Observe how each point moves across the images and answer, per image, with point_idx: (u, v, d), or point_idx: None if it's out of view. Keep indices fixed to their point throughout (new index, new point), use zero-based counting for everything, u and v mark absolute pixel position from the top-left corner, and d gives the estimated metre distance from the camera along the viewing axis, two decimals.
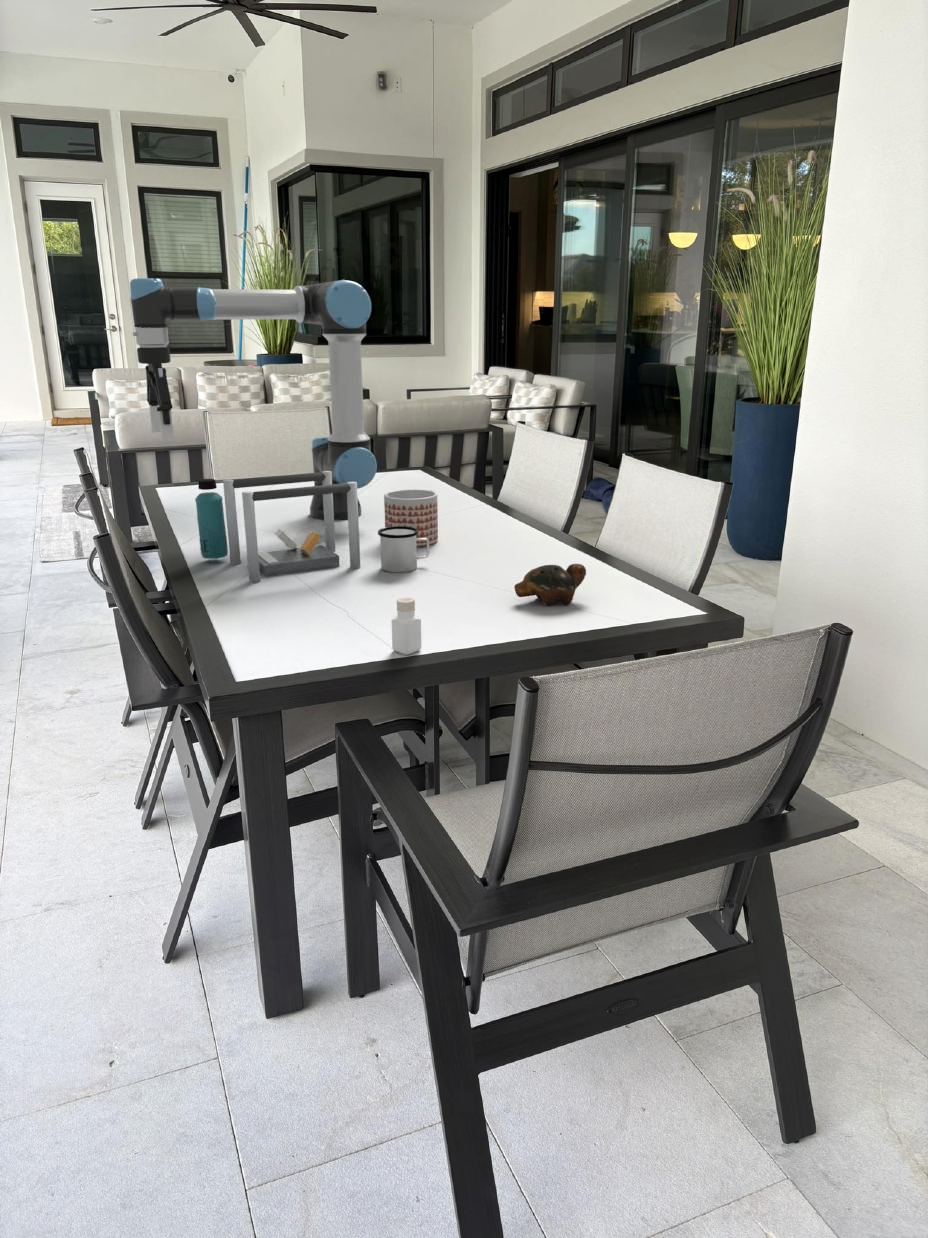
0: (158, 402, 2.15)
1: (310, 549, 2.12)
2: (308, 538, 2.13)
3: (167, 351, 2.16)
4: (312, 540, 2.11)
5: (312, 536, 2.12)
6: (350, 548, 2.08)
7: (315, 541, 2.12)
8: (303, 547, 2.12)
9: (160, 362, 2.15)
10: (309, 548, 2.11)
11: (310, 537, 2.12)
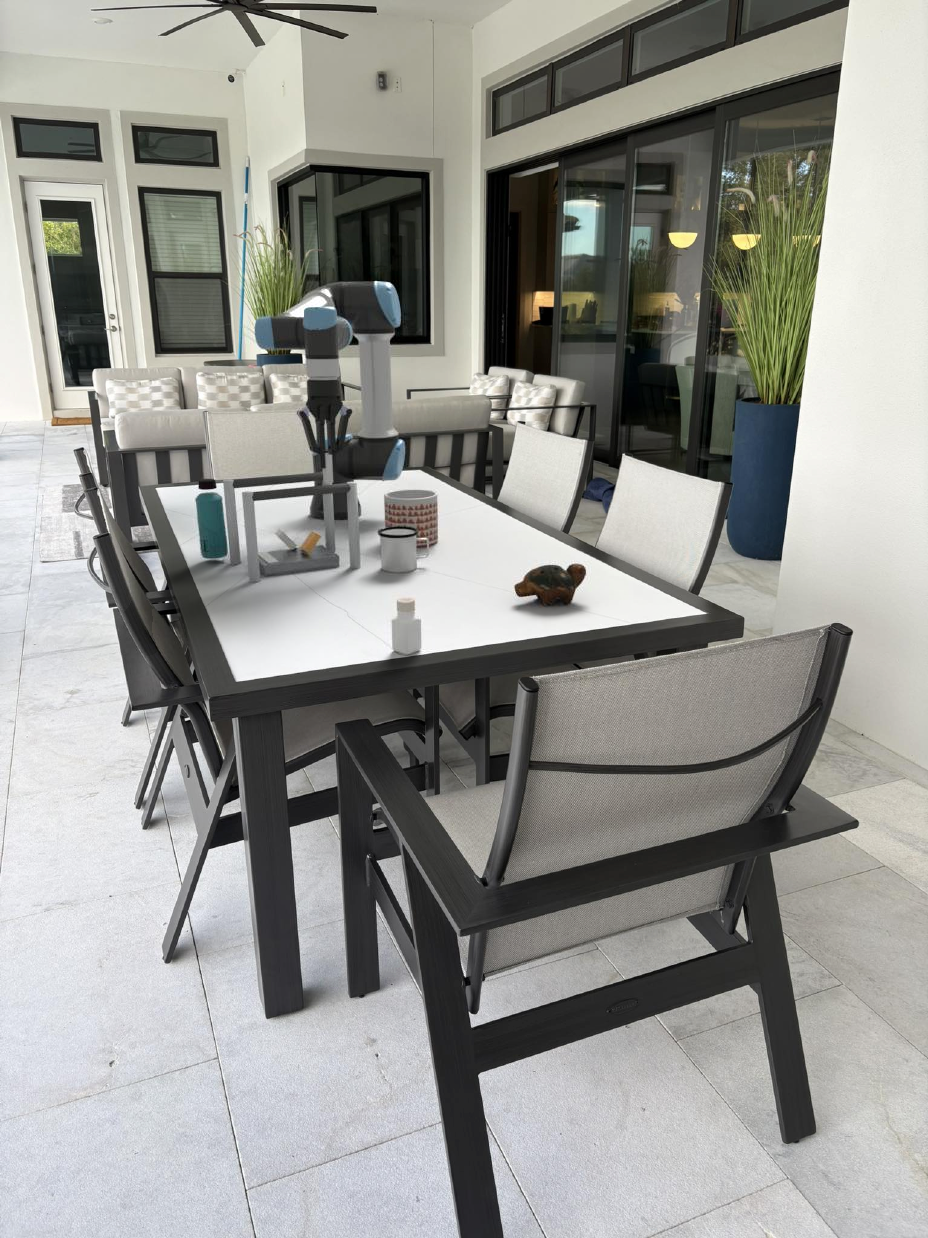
0: None
1: (310, 549, 2.12)
2: (308, 538, 2.13)
3: (317, 384, 2.00)
4: (312, 540, 2.11)
5: (312, 536, 2.12)
6: (350, 548, 2.08)
7: (315, 541, 2.12)
8: (303, 547, 2.12)
9: (309, 395, 2.02)
10: (309, 548, 2.11)
11: (310, 537, 2.12)
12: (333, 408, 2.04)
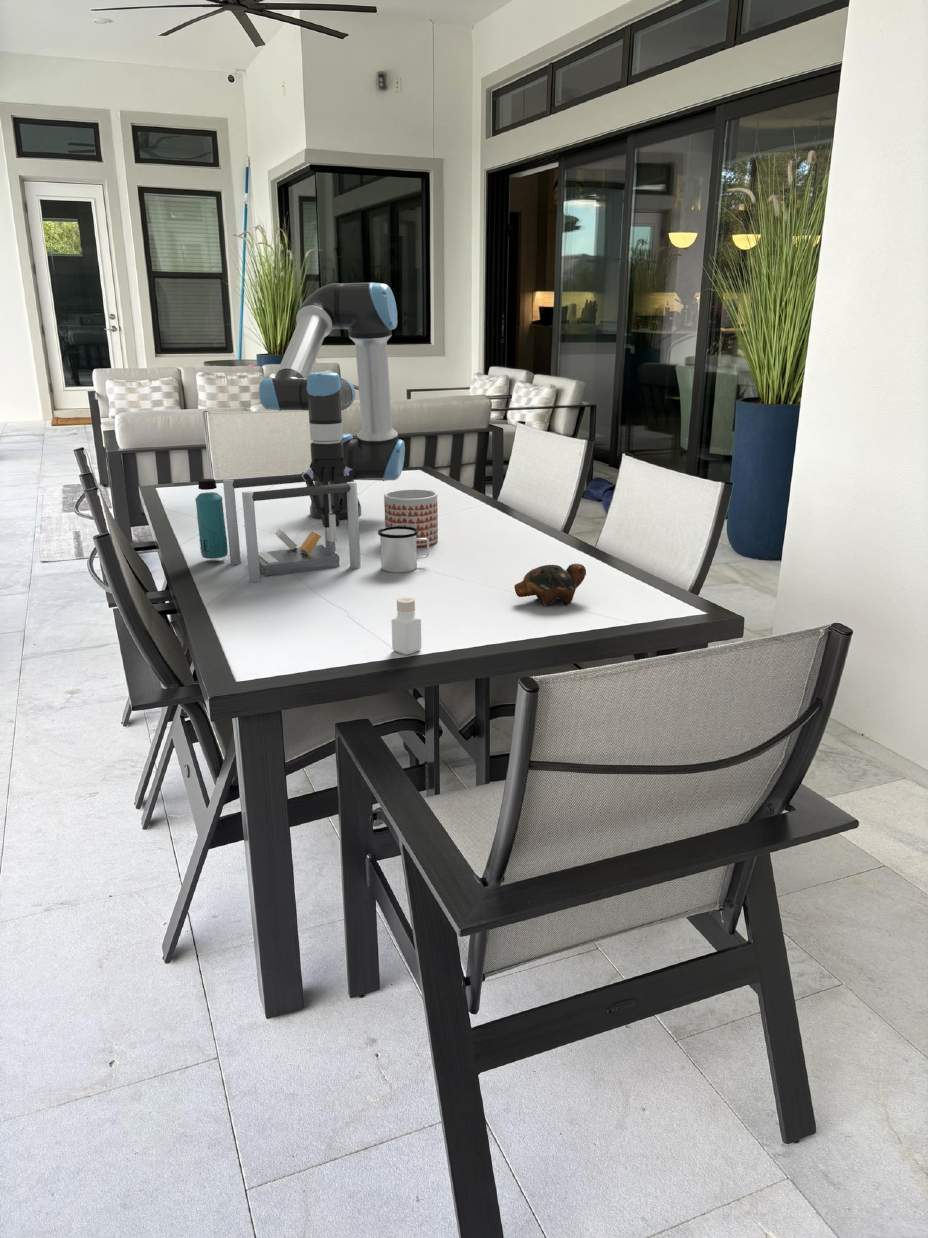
0: None
1: (310, 549, 2.12)
2: (308, 538, 2.13)
3: (321, 448, 2.04)
4: (312, 540, 2.11)
5: (312, 536, 2.12)
6: (350, 548, 2.08)
7: (315, 541, 2.12)
8: (303, 547, 2.12)
9: (313, 458, 2.06)
10: (309, 548, 2.11)
11: (310, 537, 2.12)
12: (336, 470, 2.09)
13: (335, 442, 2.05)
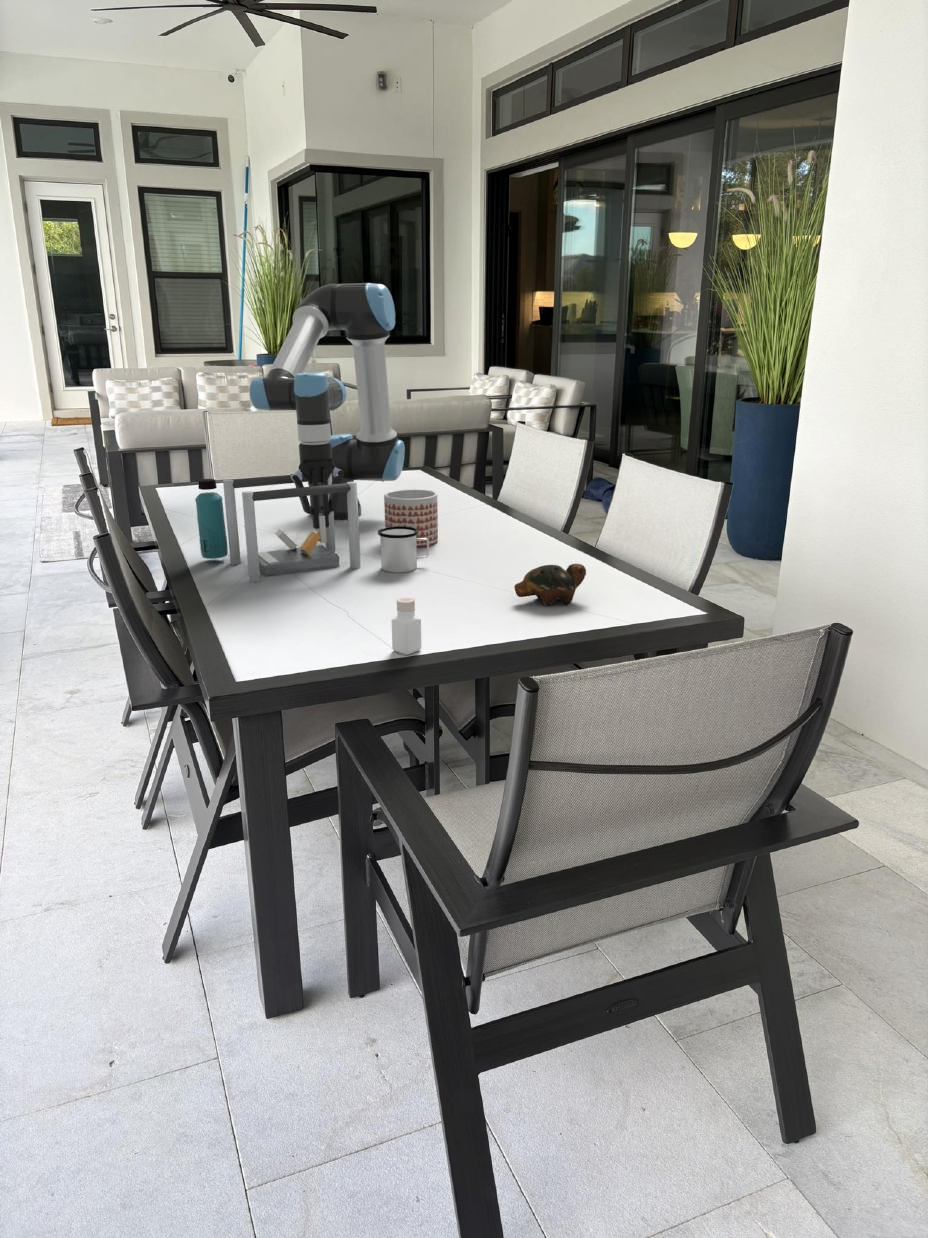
0: None
1: (310, 549, 2.12)
2: (308, 538, 2.13)
3: (309, 449, 2.03)
4: (312, 540, 2.11)
5: (312, 536, 2.12)
6: (350, 548, 2.08)
7: (315, 541, 2.12)
8: (303, 547, 2.12)
9: (302, 459, 2.05)
10: (309, 548, 2.11)
11: (310, 537, 2.12)
12: (325, 471, 2.07)
13: (323, 443, 2.04)
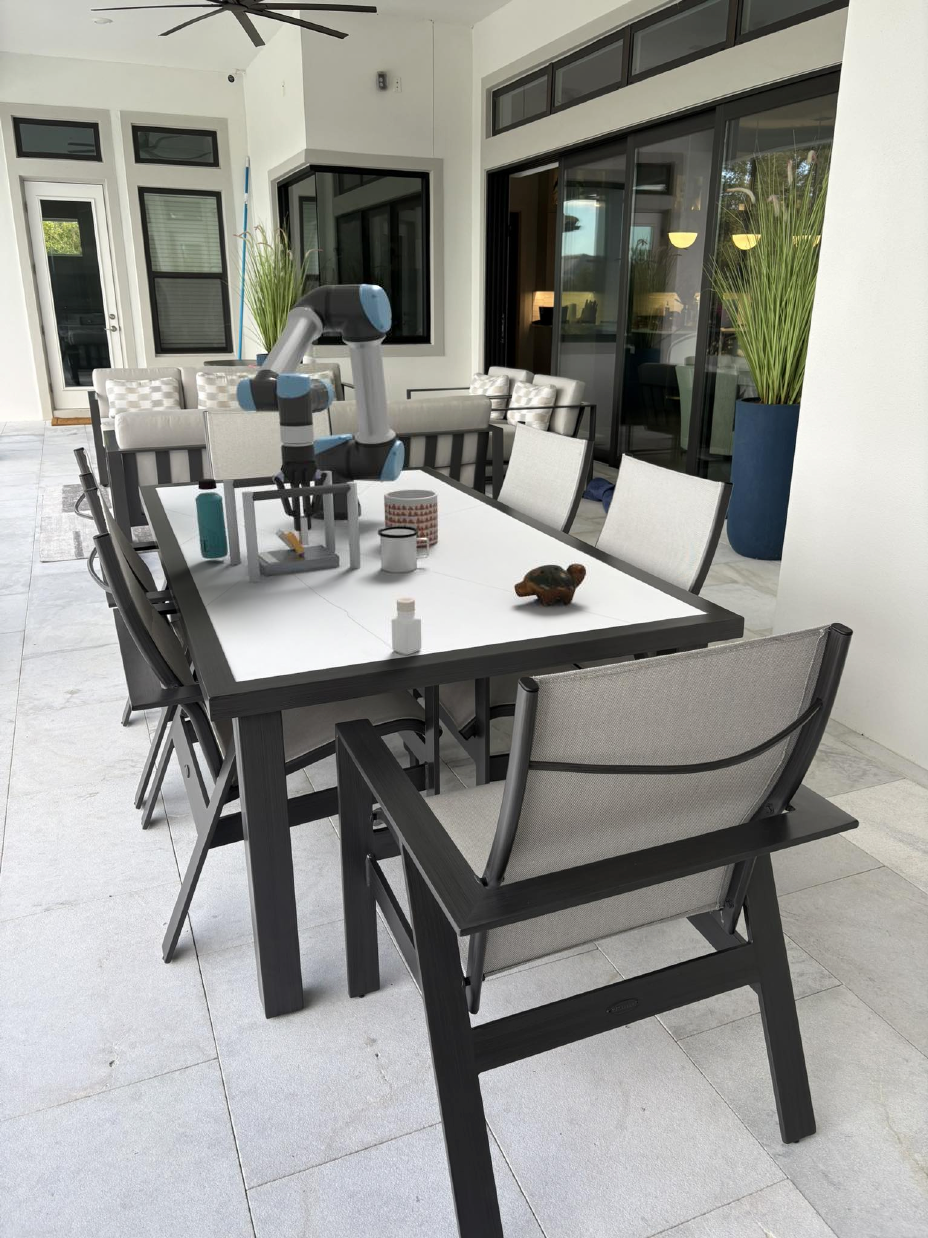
0: None
1: (301, 547, 2.10)
2: (290, 543, 2.11)
3: (291, 451, 2.01)
4: (294, 542, 2.09)
5: (290, 540, 2.09)
6: (350, 548, 2.08)
7: (296, 540, 2.09)
8: (296, 551, 2.12)
9: (284, 461, 2.03)
10: (300, 548, 2.10)
11: (290, 541, 2.10)
12: (307, 473, 2.06)
13: (306, 444, 2.02)
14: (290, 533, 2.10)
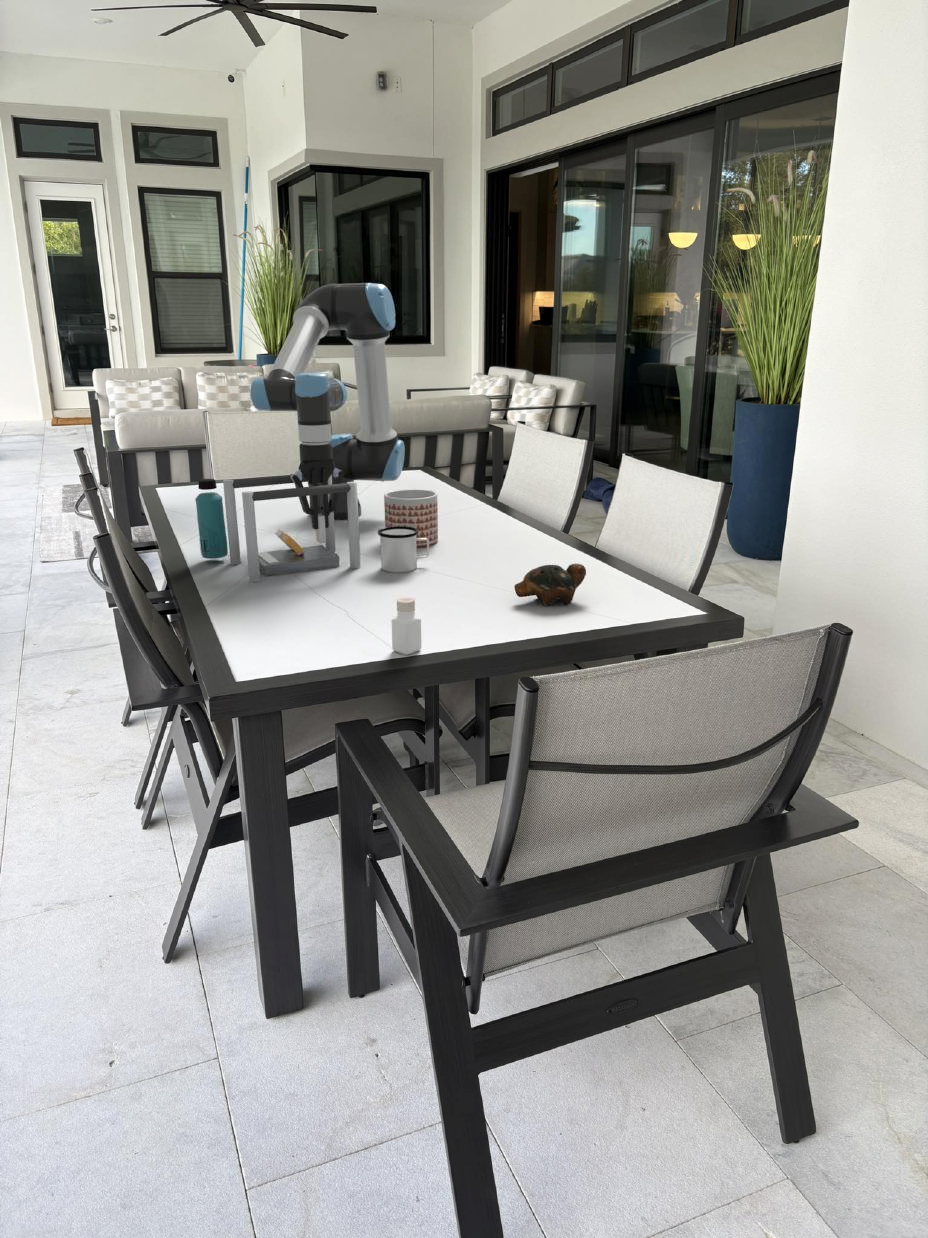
0: None
1: (300, 548, 2.10)
2: None
3: (310, 450, 2.03)
4: (292, 545, 2.09)
5: (287, 543, 2.09)
6: (350, 548, 2.08)
7: (293, 542, 2.09)
8: (296, 552, 2.12)
9: (302, 459, 2.05)
10: (298, 549, 2.10)
11: (288, 544, 2.10)
12: (325, 472, 2.08)
13: (324, 443, 2.04)
14: (286, 536, 2.09)
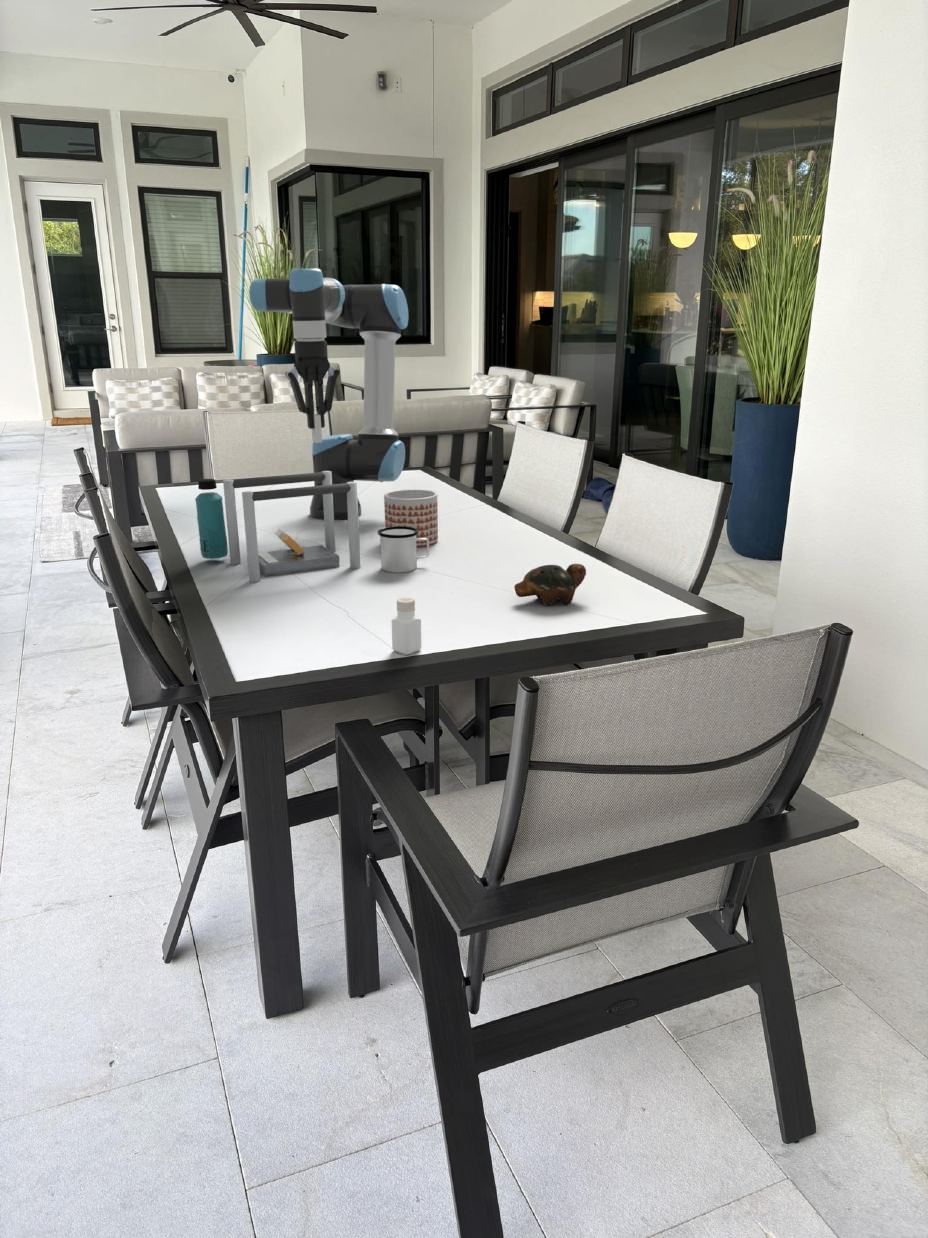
0: None
1: (300, 548, 2.10)
2: None
3: (305, 346, 2.04)
4: (292, 545, 2.09)
5: (287, 543, 2.09)
6: (350, 548, 2.08)
7: (293, 542, 2.09)
8: (296, 552, 2.12)
9: (297, 357, 2.06)
10: (298, 549, 2.10)
11: (288, 544, 2.10)
12: (320, 369, 2.09)
13: (319, 340, 2.05)
14: (286, 536, 2.09)
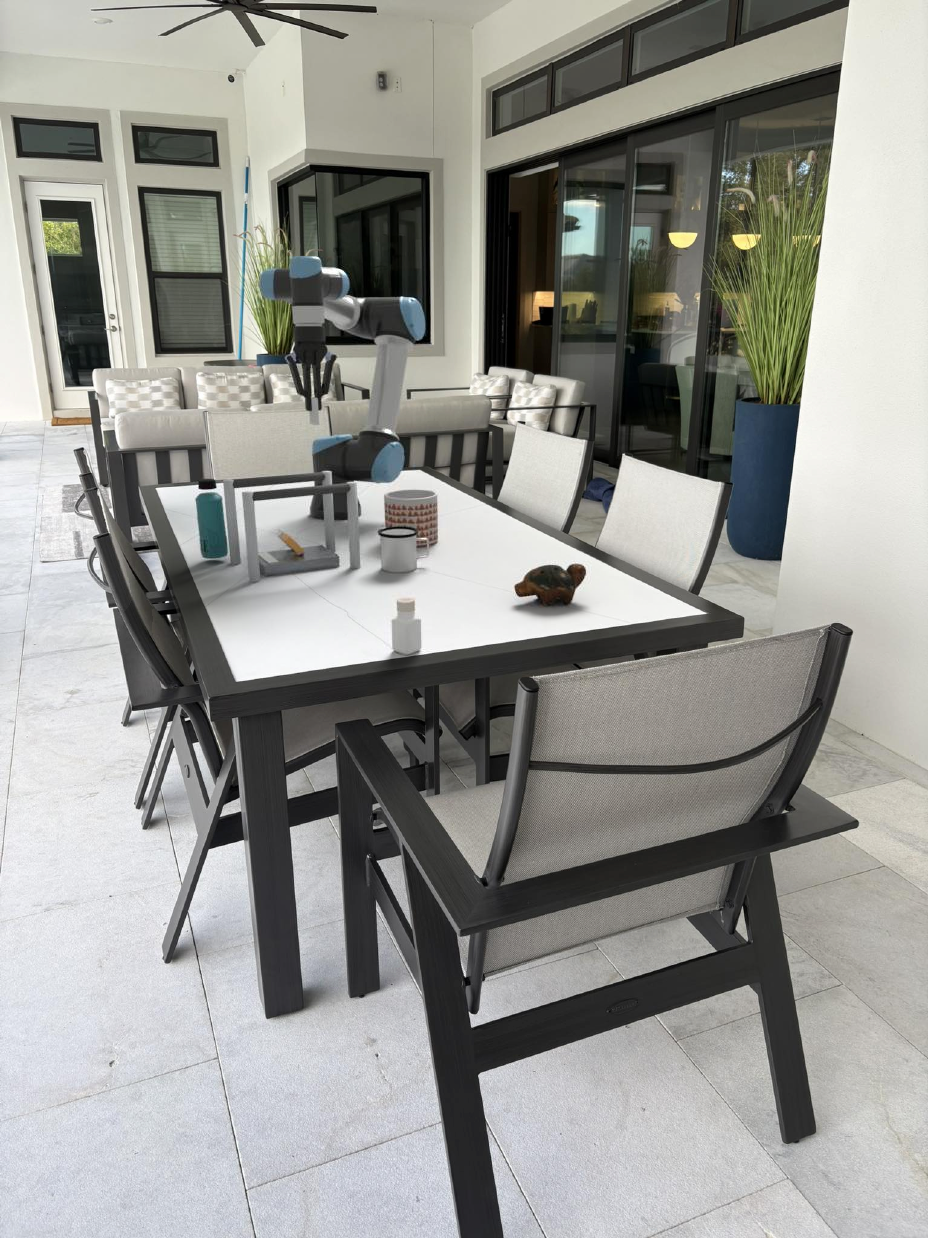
0: None
1: (300, 548, 2.10)
2: None
3: (303, 330, 2.13)
4: (292, 545, 2.09)
5: (287, 543, 2.09)
6: (350, 548, 2.08)
7: (293, 542, 2.09)
8: (296, 552, 2.12)
9: (296, 341, 2.15)
10: (298, 549, 2.10)
11: (288, 544, 2.10)
12: (318, 353, 2.17)
13: (317, 325, 2.14)
14: (286, 536, 2.09)
